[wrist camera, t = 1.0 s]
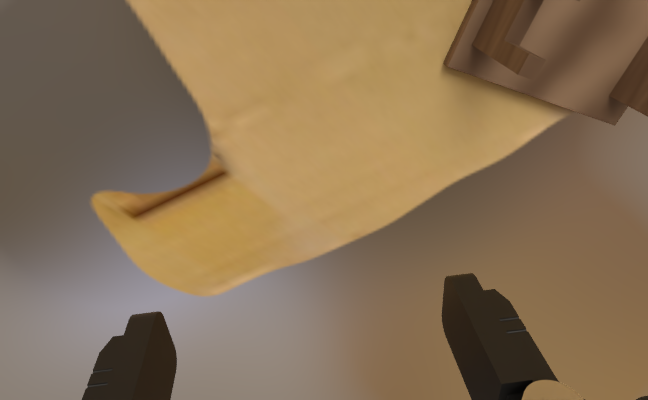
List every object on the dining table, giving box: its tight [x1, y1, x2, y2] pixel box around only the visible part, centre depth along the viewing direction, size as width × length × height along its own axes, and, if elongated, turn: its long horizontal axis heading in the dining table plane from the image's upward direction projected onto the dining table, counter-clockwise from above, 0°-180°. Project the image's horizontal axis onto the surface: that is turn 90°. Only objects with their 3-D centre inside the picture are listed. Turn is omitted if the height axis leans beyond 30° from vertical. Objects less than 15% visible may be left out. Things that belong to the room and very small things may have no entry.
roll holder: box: [444, 0, 648, 125], centre depth 32 cm, size 16×10×8 cm, turn 71°
